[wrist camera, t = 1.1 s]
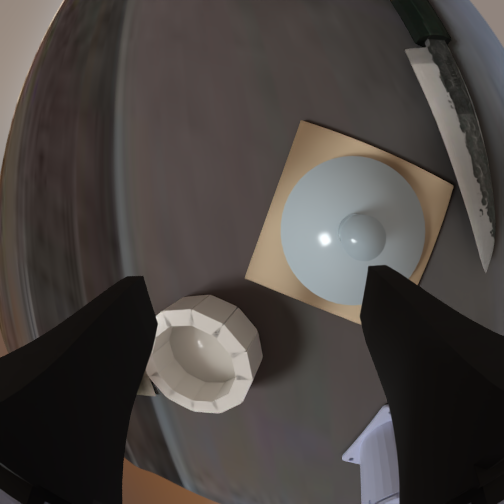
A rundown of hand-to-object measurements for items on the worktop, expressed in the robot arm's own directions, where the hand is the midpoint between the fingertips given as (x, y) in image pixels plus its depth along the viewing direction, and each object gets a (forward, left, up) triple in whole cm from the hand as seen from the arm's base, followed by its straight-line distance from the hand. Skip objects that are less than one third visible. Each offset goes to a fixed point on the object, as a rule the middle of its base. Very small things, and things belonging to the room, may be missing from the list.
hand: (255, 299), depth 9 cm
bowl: (+3, +10, -12) cm, 16 cm away
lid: (-4, -3, -11) cm, 12 cm away
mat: (-4, -3, -12) cm, 13 cm away
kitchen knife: (-5, -19, -12) cm, 23 cm away
